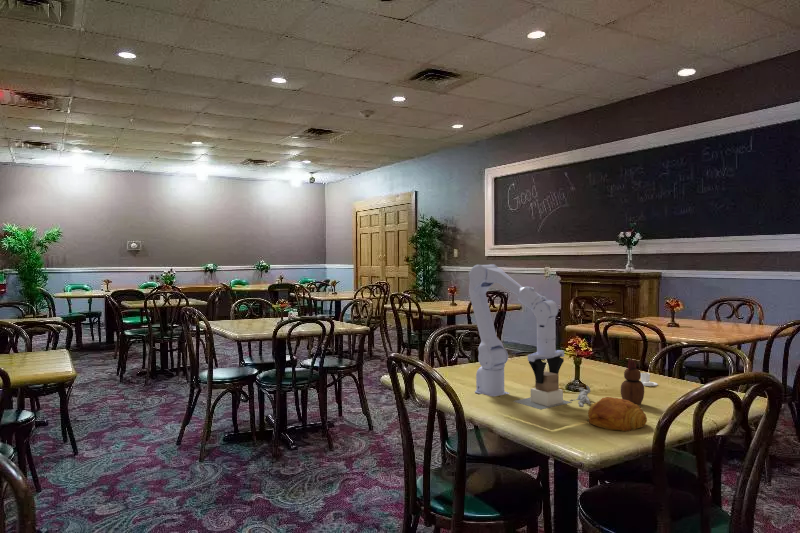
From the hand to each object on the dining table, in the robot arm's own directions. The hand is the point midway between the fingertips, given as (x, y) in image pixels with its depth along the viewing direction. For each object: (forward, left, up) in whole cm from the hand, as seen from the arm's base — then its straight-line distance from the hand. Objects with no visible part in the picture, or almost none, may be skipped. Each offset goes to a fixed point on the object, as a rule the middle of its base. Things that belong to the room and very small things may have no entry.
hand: (546, 381), depth 179 cm
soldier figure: (+7, +9, -7) cm, 14 cm away
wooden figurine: (+16, +21, -7) cm, 27 cm away
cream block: (0, 0, -6) cm, 6 cm away
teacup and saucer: (+1, +47, -8) cm, 47 cm away
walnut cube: (0, 0, -2) cm, 2 cm away
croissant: (+25, -1, -7) cm, 26 cm away
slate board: (-1, -1, -7) cm, 7 cm away
